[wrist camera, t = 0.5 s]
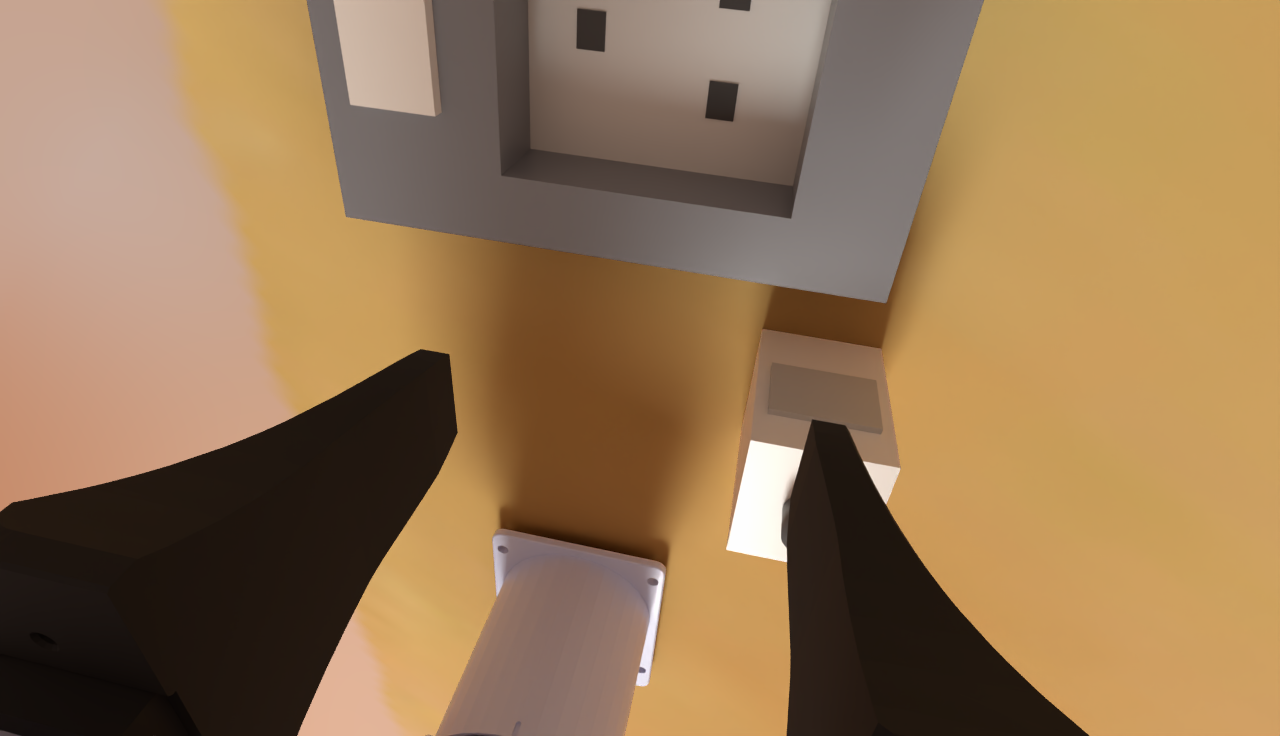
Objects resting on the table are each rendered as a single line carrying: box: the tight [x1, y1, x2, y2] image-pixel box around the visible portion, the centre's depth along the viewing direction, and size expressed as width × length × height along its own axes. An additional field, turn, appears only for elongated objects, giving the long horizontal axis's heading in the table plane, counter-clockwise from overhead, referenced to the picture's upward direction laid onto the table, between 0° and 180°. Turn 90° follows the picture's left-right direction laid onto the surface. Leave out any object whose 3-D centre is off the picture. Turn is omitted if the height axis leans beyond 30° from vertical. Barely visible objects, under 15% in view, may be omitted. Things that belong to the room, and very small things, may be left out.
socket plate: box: [307, 0, 984, 303], centre depth 17 cm, size 12×16×3 cm
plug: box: [726, 329, 901, 562], centre depth 22 cm, size 5×4×7 cm
